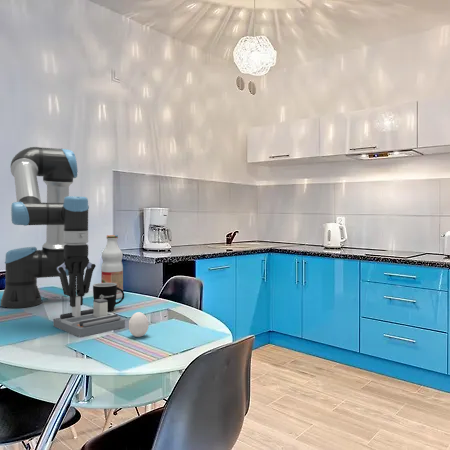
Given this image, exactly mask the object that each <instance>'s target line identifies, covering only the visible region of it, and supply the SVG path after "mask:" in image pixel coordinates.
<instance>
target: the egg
mask: <svg viewBox="0 0 450 450" xmlns="http://www.w3.org/2000/svg"><path fill="white" fill-rule="evenodd" d="M149 325H150V324H149V320H148V318H147V316H146V314H145V313H143V312H141V311H137V312H134V313H133V314H132V315H131V317H130V318H129V321H128V330H129V332H130V334H131V335H132V336H133V337H135V338H141V337H143V336H144V335H145V334H147V332H148V331H149Z"/></svg>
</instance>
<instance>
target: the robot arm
mask: <svg viewBox="0 0 450 450" xmlns="http://www.w3.org/2000/svg"><path fill="white" fill-rule="evenodd" d="M78 171H79V170H78V163H77V158H76V154H75V152H74V151H72V150H71V149H66V148H53V147H41V146H32V147H27V148H24V149H22V150H20V151H19V152H18V153H16V154H15V155H14V156H13V158H12V160H11V161H10V174H11V175H12V176H13V177H14V185H15V196H16V202H15V201H14V202H12V203H11V207H10V209H11V210H10V211H11V212H10V215H11V224H13V225H16V226H24V227H25V226H46V239H45V240H46V241H45V242H44V243H43V244H42V245H41V246H42V248H41V249H38V247H36V246H28V247H19V248H14V249H11V250H8V251H7V252H6V253H5V259H4V264H5V285H4V286H5V288H4V291H3V293H2V296H1V298H0V306H1V307H2V306H3V307H2V308H5V307H7V309H19V308H20V309H21V308H28V307H29V308H30V307H34V306H39V305H40V304H42V295H41V293H40V290H39V287H38V284H37V283H38V281H37V279H38V278H40V279H41V278H58V277H59V279H60V283H61V288H62V291H63V295H64V296H68V297H69V307H71V313H72V316H74V317H80V316H81V311H82V310H81V306H83V304H84V303H83V302H84V297H85V295H86V294H88V293H89V291H90V287H91V282H92V278H93V272H94V270H95V268H96V267H97V266H96V263H92V262H90V259H89V245H88V243H89V208H90V206H89V199H88V197H86V196H76V195H74V196H72V195H71V196H70V186H71V185H72V184H73V183H74V179H76V178H78V173H79V172H78ZM37 177H42V182H43V183H44V184H45V185H46V202H42V201H41V200H42V199H41V194H40V188H39V184H38V183H39V181H38V178H37Z"/></svg>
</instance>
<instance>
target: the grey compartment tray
mask: <svg viewBox="0 0 450 450" xmlns="http://www.w3.org/2000/svg"><path fill="white" fill-rule="evenodd" d="M111 315H116V314H115V313H112V312H110V311H109V312H108V316H111ZM103 317H106V316H103ZM96 318H101V317H95V316H93V314H87V315H82V316H80V317H71V318H66V319H61V318H60V317H56V318H53V323H52V325H53V327H54V328H57V329H59V330H60V331H64V332H66V333H68V334H70V335H74V336H76V337H79V338H84V337H89V336H92V335H96V334H100V333H106V332H109V331H110V332H111V331H115V330H118V329H120V330H121V329H123V328H126V326H125V325H126V320H125V319H123V318H121V319H120V320H116V321H112V322H107V323H102V324H97V325H92V326H88V327H83V326H81V327H80V325H79V323H80V321H86V320H91V319H96Z"/></svg>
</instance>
